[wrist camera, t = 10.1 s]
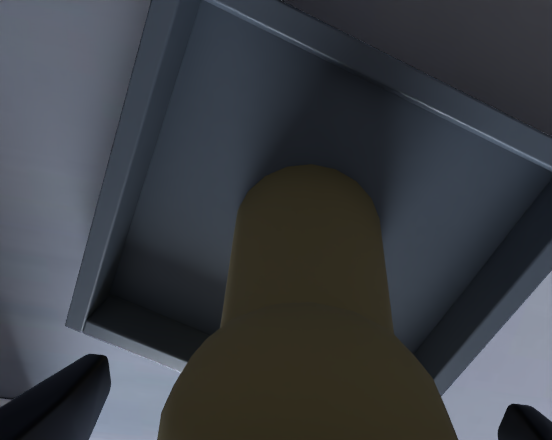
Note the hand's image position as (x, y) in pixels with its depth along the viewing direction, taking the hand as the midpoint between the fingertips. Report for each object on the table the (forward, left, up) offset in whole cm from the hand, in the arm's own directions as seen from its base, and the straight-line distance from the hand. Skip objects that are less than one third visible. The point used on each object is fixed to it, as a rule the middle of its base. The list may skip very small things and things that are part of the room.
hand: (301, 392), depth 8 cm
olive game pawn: (0, 0, -8) cm, 8 cm away
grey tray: (0, 0, -8) cm, 8 cm away
